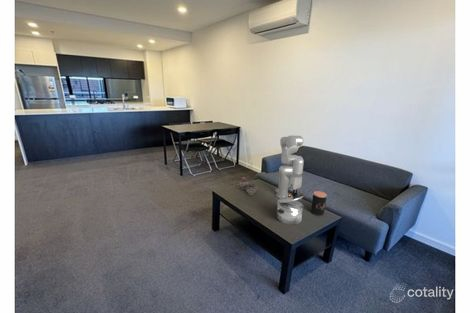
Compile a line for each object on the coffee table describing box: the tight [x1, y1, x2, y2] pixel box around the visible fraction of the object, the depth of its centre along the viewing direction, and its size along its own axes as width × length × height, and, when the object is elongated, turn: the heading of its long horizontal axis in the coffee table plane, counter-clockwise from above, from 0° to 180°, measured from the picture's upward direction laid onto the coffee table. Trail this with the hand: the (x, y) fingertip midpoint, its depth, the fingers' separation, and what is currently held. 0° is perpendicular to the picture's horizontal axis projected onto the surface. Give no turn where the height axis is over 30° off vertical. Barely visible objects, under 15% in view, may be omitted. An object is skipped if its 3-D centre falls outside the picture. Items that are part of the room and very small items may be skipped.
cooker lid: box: [276, 193, 304, 203], centre depth 179 cm, size 21×21×3 cm
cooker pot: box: [276, 200, 304, 226], centre depth 181 cm, size 21×26×12 cm
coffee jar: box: [310, 190, 328, 216], centre depth 189 cm, size 11×11×18 cm
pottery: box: [238, 176, 258, 196], centre depth 228 cm, size 11×25×12 cm, turn 31°
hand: (294, 196), depth 175 cm, fingers closed
